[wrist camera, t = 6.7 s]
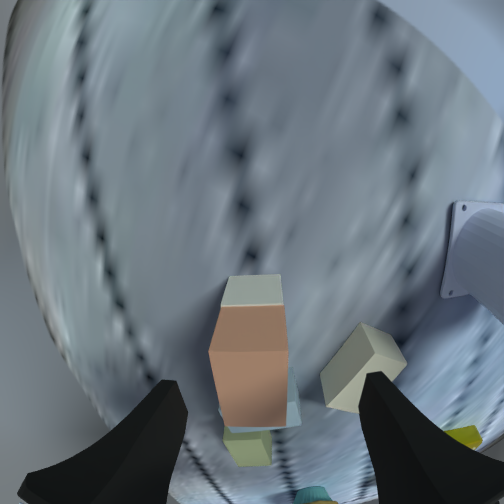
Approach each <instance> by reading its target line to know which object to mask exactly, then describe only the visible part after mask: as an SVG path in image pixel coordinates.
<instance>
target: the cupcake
mask: <svg viewBox="0 0 504 504" xmlns="http://www.w3.org/2000/svg"><path fill="white" fill-rule="evenodd" d="M293 504H338V502H336V501H332V499H331V498H330V497H329V495H328V494H327V492H326V490H325V488H323V487H308V488H304V489H301V490H299V491H298V492H297V494H296V497H295V500H294V502H293Z"/></svg>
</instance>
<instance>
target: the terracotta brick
mask: <svg viewBox="0 0 504 504" xmlns="http://www.w3.org/2000/svg"><path fill="white" fill-rule="evenodd" d="M208 352H209V357H210V362H211V367H212V371H213V376H214V381H215V385H216V390H217V394H218V399H219V403H220V407H221V412H222V416H223V420H224V424H225V426H230V427H284V426H286V417H287V388H288V341H287V330H286V320H285V309H284V305H269V306H231V307H221V310H220V313H219V317H218V320H217V323H216V327H215V330H214V334H213V337H212V341H211V344H210V348H209V351H208Z"/></svg>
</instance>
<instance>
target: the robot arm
mask: <svg viewBox="0 0 504 504" xmlns="http://www.w3.org/2000/svg"><path fill="white" fill-rule="evenodd" d="M463 205H464V208H463V210H462V206H463ZM450 290H451V291H450ZM449 292H450V293H449ZM469 294H471V295H472V296H473V297H474V298H475V299H476V300H477V301H479V302H480V303H481V304H482V305H483V306H484V307H485V308H486V309H487V310H489V311H490V312H491V313H492V314H493V315H494V316H495V317H496V318H497V319H498V320H499V321H500V322H501V323H502V324H503V325H504V204H503V203H491V202H476V201H460V200H457V201H455V202H454V204H453V211H452V222H451V231H450V240H449V247H448V254H447V260H446V266H445V271H444V277H443V282H442V286H441V291H440V296H441V297H442V298H443V299H446V298H452V297H458V296H464V295H469ZM358 409H359V415H360V421H361V427H362V431H363V434H364V438H365V441H366V444H367V448H368V451H369V454H370V458H371V461H372V465H373V468H374V472H375V477H376V482H377V490H378V498H379V504H499V501H498V500H499V499H501V498H502V497H504V462H502V461H499V460H495V459H492V458H490V457H488V456H485V455H483V454H481V453H479V452H476V451H475V450H473V449H471V448H469V447H467V446H465V445H464V444H462V443H460V442H458V441H457V440H455V439H454V438H452V437H451V436H449V435H448V434H447V433H445V432H444V431H443V430H441V429H440V428H439V427H437V426H436V425H435V424H434V423H433V422H431V421H430V420H429V419H428V418H427V417H426V416H425V415H424V414H423V413H421V412H420V411H419V410H418V409H417V408H416V407H415V406H414V405H413V404H412V403H411V402H410V401H409V400H408V399H407V398H406V397H405V396H404V395H403V394H402V392H401V391H400V390H399V389H398V388H397V387H396V386H395V385H394V384H393V383H392V382H391V381H390V379H389V378H388V377H387V376H386V375H385V374H384V373H383V372H382V371H377V372H371V373H367V374H366V378H365V382H364V386H363V390H362V394H361V397H360V401H359V404H358ZM187 417H188V411H187V408H186V406H185V403H184V400H183V398H182V395H181V393H180V390H179V387H178V384H177V382H176V381H173V380H161V381H160V382H159V383H158V384H157V385H156V386H155V387H154V388H153V389H152V391H151V392H150V393H149V394H148V395H147V396H146V397H145V398H144V399H143V400H142V401H141V402H140V403H139V404H138V405H137V406H136V407H135V408H134V410H133V411H132V412H131V413H130V414H129V415H128V416H127V417H125V418H124V419H123V420H122V421H121V422H120V423H119V424H118V425H117V426H116V427H114V428H113V429H112V430H111V431H110V432H109V433H107V434H106V435H105V436H104V437H102V438H101V439H100V440H99V441H97V442H96V443H94V444H93V445H91V446H90V447H88V448H87V449H85V450H83V451H81V452H80V453H78V454H76V455H75V456H73V457H71V458H69V459H67V460H65V461H63V462H60V463H58V464H56V465H53V466H50V467H48V468H45V469H41V470H38V471H35V472H31V473H28V474H27V476H26V477H25V479H24V481H23V483H22V485H21V487H20V489H19V491H18V492H17V494H18V496H19V497H20V498H21V499H23V500H24V501H25V502H27V503H28V504H166V502H167V495H168V490H169V484H170V480H171V476H172V473H173V470H174V466H175V463H176V460H177V457H178V454H179V451H180V447H181V444H182V441H183V438H184V434H185V429H186V423H187ZM19 504H23V503H22V502H20V503H19Z"/></svg>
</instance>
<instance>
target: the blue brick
mask: <svg viewBox="0 0 504 504" xmlns="http://www.w3.org/2000/svg"><path fill="white" fill-rule="evenodd" d="M218 411H219V413H220V415H221V416H222V412H221V407H220V403H219V408H218ZM222 418H223V416H222ZM300 425H302V421H301V410H300V400H299V391H298V387H297V383H296V379H295V375H294V372H293V368H292V367H291V368H288V388H287V417H286V426H284V427H230V426H228V428H229V430H230V431H231V433H242V432H254V431H264V430H273V429H280V428H287V427H294V426H300Z"/></svg>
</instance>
